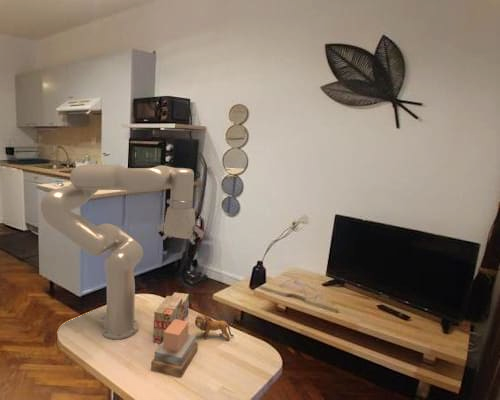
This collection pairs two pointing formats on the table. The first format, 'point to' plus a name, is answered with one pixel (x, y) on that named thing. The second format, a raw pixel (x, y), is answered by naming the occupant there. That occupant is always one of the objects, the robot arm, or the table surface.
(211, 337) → the table surface
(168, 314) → the stack of blocks
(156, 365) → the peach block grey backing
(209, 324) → the lion figurine
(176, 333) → the terracotta brick
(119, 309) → the robot arm
